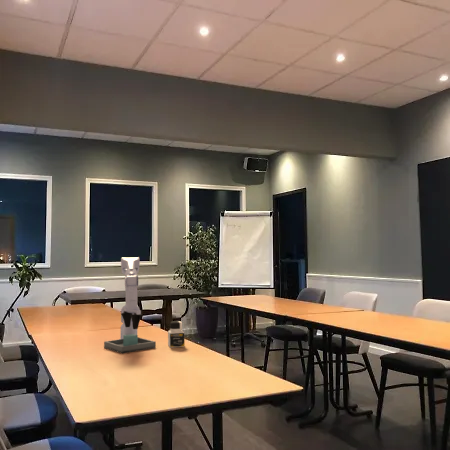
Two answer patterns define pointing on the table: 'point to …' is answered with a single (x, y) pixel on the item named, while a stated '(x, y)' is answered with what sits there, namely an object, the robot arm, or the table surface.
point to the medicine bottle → (176, 335)
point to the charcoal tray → (118, 345)
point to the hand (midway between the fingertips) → (131, 328)
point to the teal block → (130, 339)
